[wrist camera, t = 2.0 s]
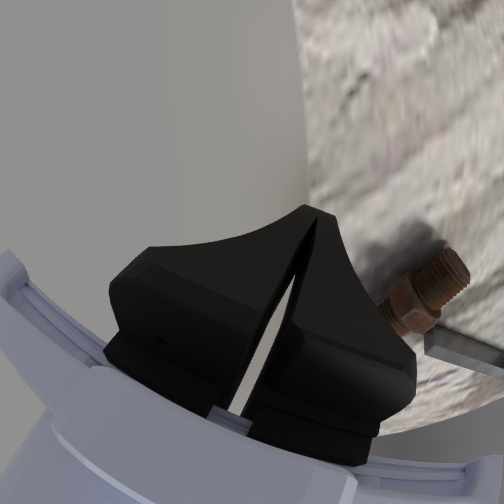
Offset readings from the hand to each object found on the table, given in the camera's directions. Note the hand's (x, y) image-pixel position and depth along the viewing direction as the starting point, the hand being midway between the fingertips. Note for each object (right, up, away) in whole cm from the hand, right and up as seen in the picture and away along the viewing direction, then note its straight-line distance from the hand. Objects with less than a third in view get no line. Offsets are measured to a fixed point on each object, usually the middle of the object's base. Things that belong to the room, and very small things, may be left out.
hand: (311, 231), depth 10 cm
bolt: (+12, -1, +4) cm, 12 cm away
